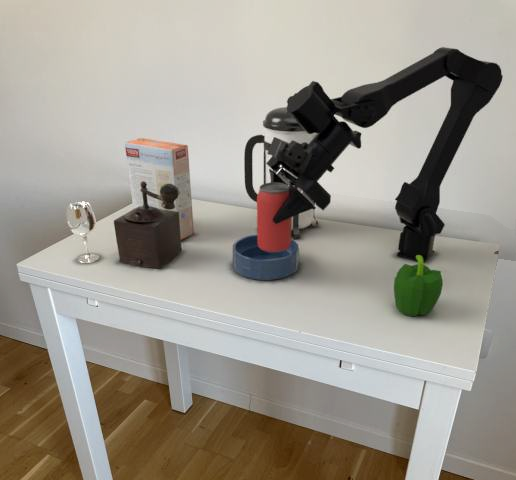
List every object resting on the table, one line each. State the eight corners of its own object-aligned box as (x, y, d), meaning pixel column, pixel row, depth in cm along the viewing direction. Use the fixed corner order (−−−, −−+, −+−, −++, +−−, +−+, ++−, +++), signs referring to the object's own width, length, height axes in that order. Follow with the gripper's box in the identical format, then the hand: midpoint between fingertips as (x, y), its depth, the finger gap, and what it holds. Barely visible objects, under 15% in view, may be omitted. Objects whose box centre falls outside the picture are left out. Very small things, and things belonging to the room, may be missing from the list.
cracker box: (195, 234, 130) (189, 144, 119) (179, 242, 126) (171, 149, 114) (151, 222, 136) (141, 136, 125) (135, 230, 132) (123, 141, 121)
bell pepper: (433, 325, 94) (444, 274, 89) (386, 316, 97) (394, 265, 92) (439, 304, 101) (449, 254, 95) (395, 296, 104) (403, 247, 98)
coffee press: (310, 214, 141) (317, 89, 125) (325, 238, 128) (334, 101, 111) (244, 218, 139) (242, 91, 123) (252, 242, 126) (251, 103, 109)
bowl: (309, 263, 116) (310, 243, 114) (274, 287, 107) (274, 266, 104) (257, 248, 123) (257, 229, 120) (219, 269, 113) (219, 250, 111)
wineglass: (107, 256, 119) (98, 203, 113) (90, 266, 115) (80, 211, 108) (87, 251, 121) (77, 199, 115) (69, 261, 117) (58, 207, 110)
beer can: (291, 254, 104) (292, 192, 97) (256, 253, 104) (256, 192, 97) (290, 240, 109) (291, 181, 103) (258, 240, 109) (257, 181, 103)
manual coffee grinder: (116, 263, 116) (102, 179, 106) (143, 244, 125) (133, 165, 115) (180, 275, 111) (172, 188, 101) (203, 254, 120) (198, 173, 110)
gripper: (276, 111, 102) (223, 176, 105) (318, 131, 87) (255, 206, 91) (312, 150, 109) (261, 210, 112) (357, 175, 94) (296, 243, 97)
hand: (267, 216), depth 103 cm, fingers closed on beer can, 6 cm apart
